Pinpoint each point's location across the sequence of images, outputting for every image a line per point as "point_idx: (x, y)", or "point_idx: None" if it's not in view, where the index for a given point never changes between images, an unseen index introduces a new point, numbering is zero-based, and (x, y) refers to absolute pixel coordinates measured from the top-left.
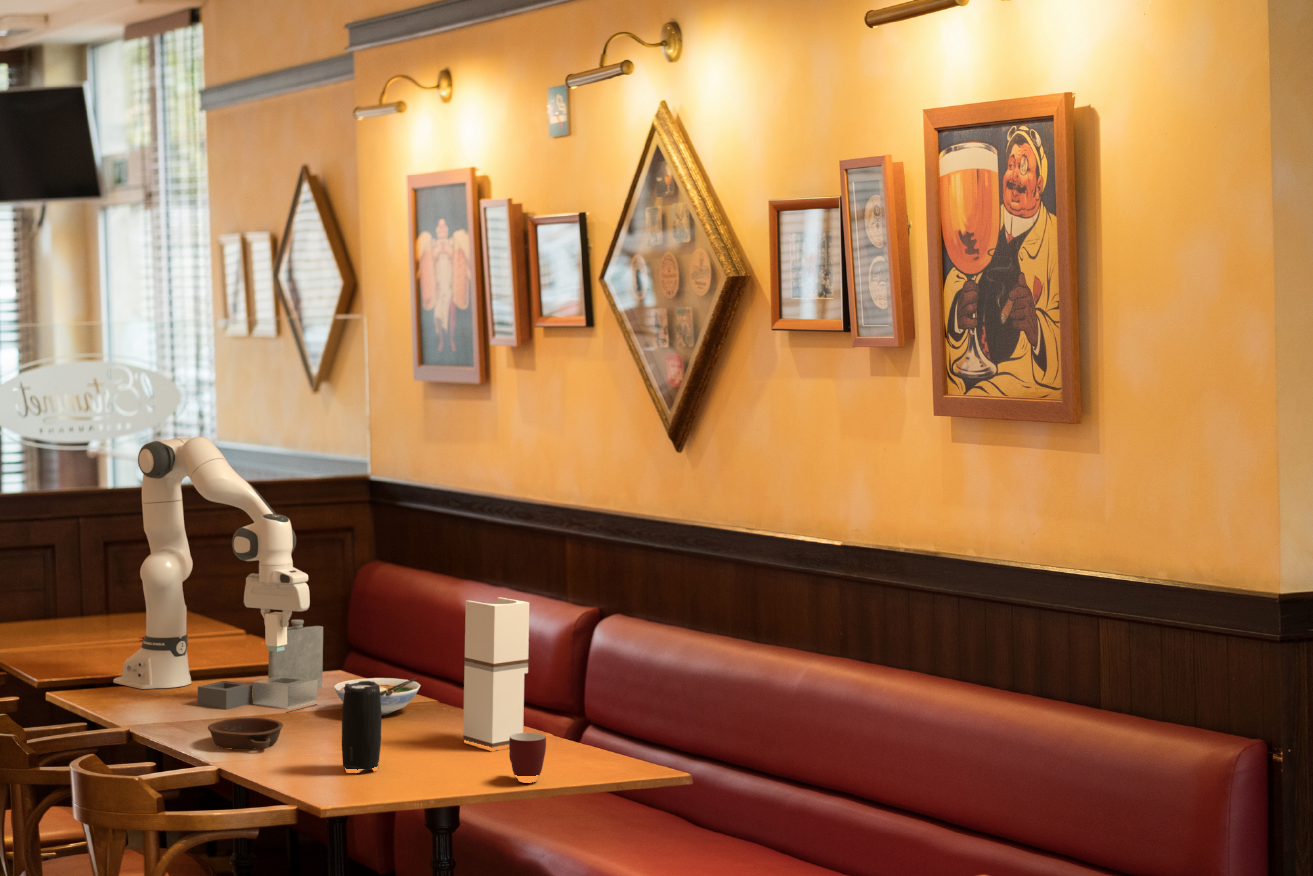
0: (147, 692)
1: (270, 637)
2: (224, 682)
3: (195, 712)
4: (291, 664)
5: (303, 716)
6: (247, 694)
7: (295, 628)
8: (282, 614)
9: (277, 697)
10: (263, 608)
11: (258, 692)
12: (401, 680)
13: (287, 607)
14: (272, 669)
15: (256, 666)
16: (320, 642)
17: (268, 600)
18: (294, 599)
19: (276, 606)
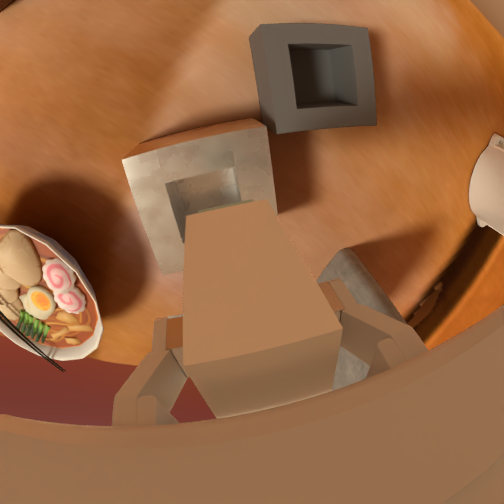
0: (482, 121)
1: (238, 227)
2: (361, 108)
3: (315, 10)
4: None
5: (86, 151)
6: (268, 110)
7: None
8: (206, 399)
9: (166, 140)
10: (397, 365)
11: (238, 126)
12: (68, 357)
13: (65, 447)
14: (361, 278)
15: (440, 318)
16: None
17: (359, 478)
18: (4, 498)
19: (206, 451)
